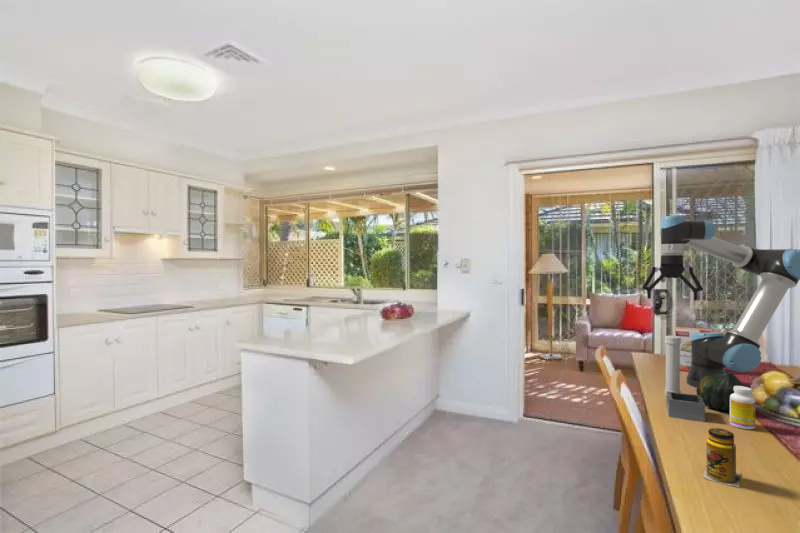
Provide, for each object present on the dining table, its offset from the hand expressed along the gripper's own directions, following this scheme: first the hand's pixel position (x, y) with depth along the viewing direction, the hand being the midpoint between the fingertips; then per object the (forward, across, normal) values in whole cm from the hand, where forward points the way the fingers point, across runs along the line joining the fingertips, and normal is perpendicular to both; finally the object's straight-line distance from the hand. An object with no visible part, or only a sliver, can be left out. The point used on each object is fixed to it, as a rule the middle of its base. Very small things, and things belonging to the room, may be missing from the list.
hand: (671, 307), depth 169 cm
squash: (+36, +16, -7) cm, 40 cm away
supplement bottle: (+36, +18, -24) cm, 47 cm away
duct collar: (+36, +3, -20) cm, 41 cm away
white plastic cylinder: (+36, 0, 0) cm, 36 cm away
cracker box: (+36, +12, +48) cm, 61 cm away
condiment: (+36, +6, -66) cm, 75 cm away
